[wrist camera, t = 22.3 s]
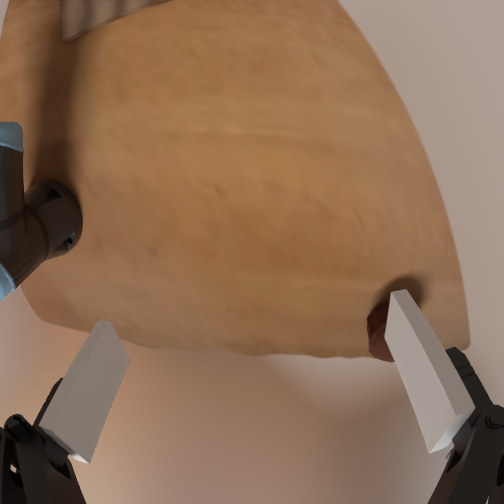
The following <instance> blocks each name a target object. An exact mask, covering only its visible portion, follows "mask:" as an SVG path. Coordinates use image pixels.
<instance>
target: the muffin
mask: <svg viewBox="0 0 504 504" xmlns="http://www.w3.org/2000/svg"><path fill="white" fill-rule="evenodd" d="M389 304H390V302H385V303H384V304H382V305H380V306H378V307H376V308H374V309H373V311H372V313H371V314H370V315H369V316H368V318H367V332H368V337H369V352H370V353H371V354H372V355H373V356H374V357H375V358H377V359H380V360H383V361H387V362H395V361H394V359H393V356H392V354H391V352H390V349H389V347H388V345H387V342H386V340H385V338H384V337H385V331H386V325H387V318H388V311H389Z"/></svg>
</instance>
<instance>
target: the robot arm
mask: <svg viewBox="0 0 504 504" xmlns="http://www.w3.org/2000/svg"><path fill="white" fill-rule="evenodd" d="M23 153H24V149H23V130H22V127H21V126H20V125H19V124H18V123H17V122H0V301H1V300H3V298H5V297H6V296H7V295H8V294H10V293H12V292H13V291H14V290H15V289H16V288H17V287H18V286H19V284H21V283H22V282H23V281H24V280H25V279H26V278H27V277H28V276H29V275H30V274H31V273H32V272H33V271H34V270H35V269H36V268H37V267H38V266H39V265H40V264H41V263H42V262H44V261H45V260H48V259H52V258H55V257H59V256H62V255H64V254H66V253H68V252H69V251H70V250H71V249H72V248H73V247H74V246H75V245H76V244H77V243H78V241H79V239H80V236H81V232H82V217H81V212H80V209H79V206H78V203H77V201H76V199H75V198H74V196H73V195H72V193H71V192H70V191H69V190H68V188H67V187H65V186H64V185H63V184H61V183H60V182H58V181H55V180H51V179H46V180H42V181H40V182H38V183H36V184H34V185H32V186H31V187H30V188H29V189H28V190H27V191H26V192H25V193H24V181H23ZM384 338H385V340H386V342H387V345H388V347H389V349H390V352H391V354H392V356H393V359H394V361H395V363H396V366H397V368H398V371H399V373H400V375H401V378H402V380H403V383H404V385H405V388H406V390H407V393H408V396H409V398H410V401H411V403H412V406H413V409H414V411H415V414H416V417H417V420H418V423H419V425H420V428H421V431H422V434H423V437H424V440H425V443H426V446H427V449H428V452H429V453H432V452H434V451H437V450H440V449H442V448H445V447H447V446H448V444H449V443H450V442H451V441H453V443H454V448H453V449H452V450H451V451H450V452H449V453H448V455H447V456H446V459H448V458H449V460H448V462H447V465H446V467H445V469H444V471H443V473H442V476H441V478H440V480H439V482H438V484H437V486H436V488H435V490H434V492H433V494H432V496H431V498H430V500H429V502H428V504H486V502H487V499H488V496H489V499H488V504H504V408H503V407H501V406H499V405H494V404H493V403H492V401H491V400H490V398H489V396H488V394H487V392H486V390H485V389H484V387H483V385H482V383H481V381H480V380H479V378H478V376H477V374H475V371H474V369H473V367H472V366H470V362H469V361H468V359H467V357H466V356H465V354H463V353H462V352H461V351H460V350H459V349H457V348H456V347H453V348H450V349H447V350H444V348H443V346H442V344H441V343H440V341H439V339H438V338H437V336H436V334H435V333H434V331H433V330H432V328H431V326H430V325H429V323H428V322H427V320H426V318H425V317H424V315H423V314H422V312H421V311H420V309H419V307H418V306H417V304H416V303H415V301H414V300H413V298H412V297H411V295H410V294H409V292H408V291H407V289H404V290H398V291H393V292H391V297H390V304H389V311H388V318H387V325H386V331H385V337H384ZM130 360H131V359H130V357H129V356H128V354H127V352H126V350H125V348H124V347H123V345H122V343H121V341H120V339H119V337H118V335H117V333H116V331H115V329H114V327H113V326H112V324H111V322H110V320H109V321H98V322H97V323H96V325H95V326H94V328H93V330H92V331H91V333H90V334H89V336H88V338H87V339H86V341H85V342H84V344H83V346H82V347H81V349H80V351H79V353H78V354H77V356H76V357H75V359H74V361H73V362H72V364H71V366H70V368H69V369H68V372H67V373H66V375H65V376H64V378H61V379H60V380H59V381H58V382H57V383H56V384H55V385H54V386H53V388H52V390H51V392H50V395H48V397H47V399H46V402H45V403H44V404H43V406H42V408H41V410H40V412H39V414H38V416H37V418H36V420H35V422H34V424H33V425H32V426H31V424H29V423H28V422H27V420H26V419H25V418H24V417H23V416H22V415H20V414H14V415H12V416H10V417H9V418H8V419H7V421H6V422H5V425H4V429H3V428H2V427H0V504H86V502H85V499H84V497H83V494H82V492H81V489H80V486H79V484H78V481H77V478H76V476H75V473H74V470H73V467H72V464H71V462H70V460H69V459H68V458H67V457H68V455H69V454H70V455H71V456H72V457H74V458H75V459H76V460H78V461H82V462H85V463H89V464H90V462H91V458H92V455H93V453H94V450H95V447H96V445H97V442H98V439H99V437H100V434H101V431H102V429H103V426H104V423H105V420H106V418H107V416H108V413H109V411H110V408H111V406H112V403H113V401H114V398H115V396H116V393H117V391H118V388H119V386H120V384H121V381H122V379H123V377H124V374H125V372H126V369H127V367H128V365H129V362H130ZM11 465H12V466H14V467H15V468H16V473H14V472H13V471H12V470H11V469H10V468H11Z"/></svg>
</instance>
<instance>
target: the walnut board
mask: <svg viewBox="0 0 504 504" xmlns="http://www.w3.org/2000/svg"><path fill="white" fill-rule="evenodd" d="M168 1H172V0H60V7H61V37H62V42H65V43H69V42H71V41H73V40H75V39H77V38H79V37H81V36H83V35H85V34H87V33H89V32H91V31H93V30H95V29H97V28H99V27H101V26H104V25H106V24H108V23H110V22H113V21H115V20H117V19H120V18H122V17H125V16H127V15H130V14H133V13H135V12H138V11H141V10H144V9H146V8H149V7H152V6H155V5H159V4H162V3H165V2H168Z"/></svg>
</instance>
